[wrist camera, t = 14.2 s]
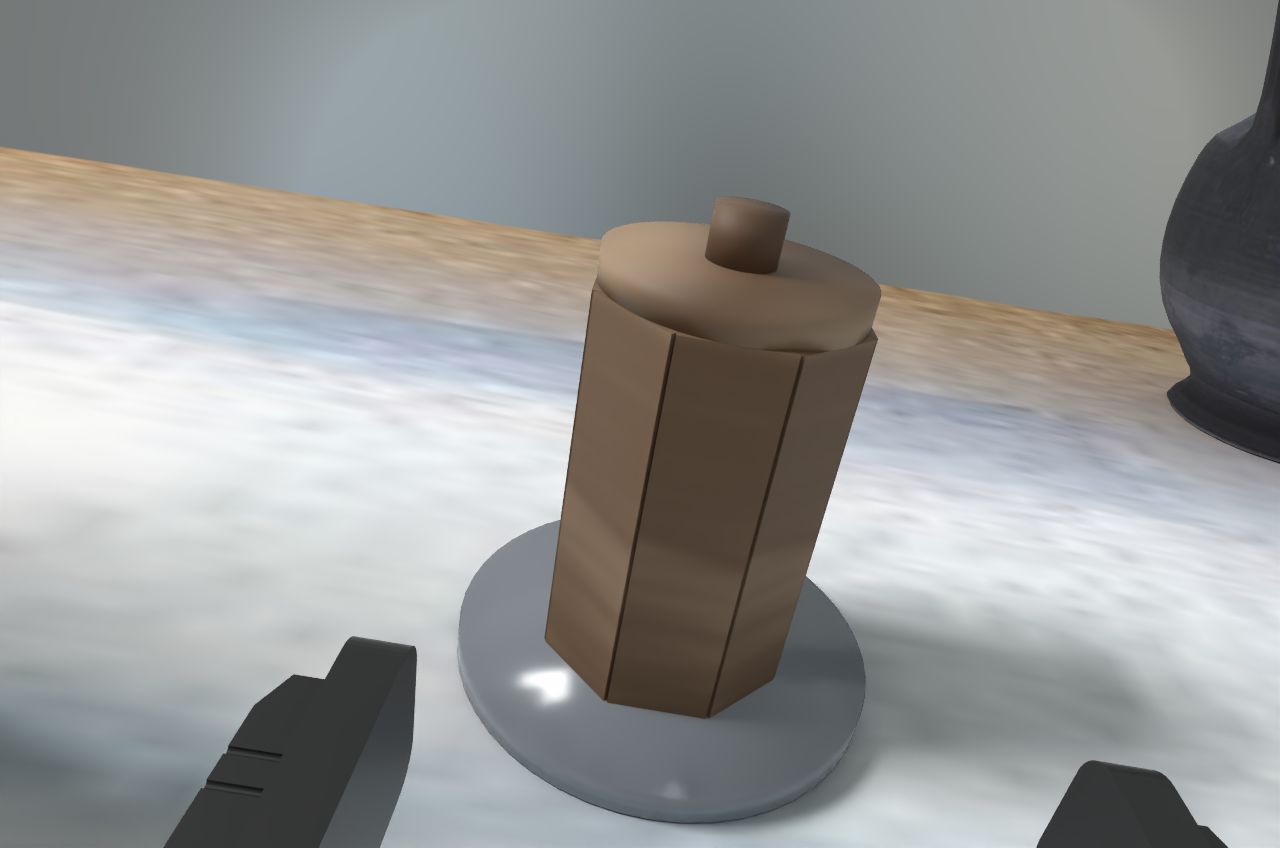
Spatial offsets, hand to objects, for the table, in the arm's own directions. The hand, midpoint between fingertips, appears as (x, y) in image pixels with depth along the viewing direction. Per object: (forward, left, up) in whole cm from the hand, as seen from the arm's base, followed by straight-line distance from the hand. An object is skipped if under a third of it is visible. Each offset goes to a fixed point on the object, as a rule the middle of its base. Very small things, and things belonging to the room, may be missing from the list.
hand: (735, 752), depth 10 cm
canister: (0, +11, -7) cm, 13 cm away
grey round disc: (0, +11, -8) cm, 13 cm away
